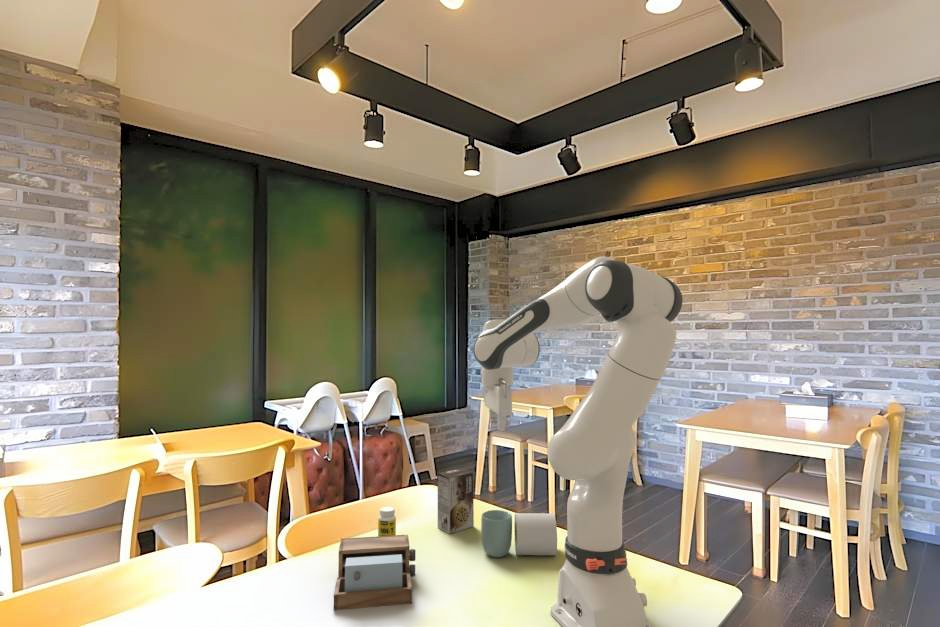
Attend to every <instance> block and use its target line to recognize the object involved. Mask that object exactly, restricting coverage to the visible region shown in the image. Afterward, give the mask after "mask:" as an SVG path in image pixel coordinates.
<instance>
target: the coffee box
mask: <svg viewBox="0 0 940 627" xmlns="http://www.w3.org/2000/svg"><path fill="white" fill-rule="evenodd" d="M474 513H475V512H474V472H473V471H471V470H468V469H465V468H462V467H459V468H454V469H450V470H445V471H442V472H437V529H439V530H441V531H443V532H446V533H447V534H449V535H452V534H456V533H457V532H460V531H464V530H466V529H470V528H473V527H474V525H475V522H474V521H475V520H474V519H475V518H474Z"/></svg>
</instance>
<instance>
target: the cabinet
mask: <svg viewBox="0 0 940 627" xmlns="http://www.w3.org/2000/svg"><path fill="white" fill-rule="evenodd" d="M400 554H402V588H391V589H378V590H365V591H353V592H345V564H346V558H355V557H370V556H385V555H400ZM415 561H416V549H414V548H411V549H410V540H409V534H396V535H394V536H378V535H377V536H365V537H364V536H363V537H352V538H351V537H348V538H341V539H340V543H339V547H338V576H337V577H336V582H335V588H334V592H333V610H347V609H357V608H359V609H360V608H369V607H371V608H372V607H381V606H394V605H406V604H407V605H409V604H412V600H413V598H412V597H413V596H412V595H413V594H412V592H413V588H412V577H415V576H416V564H412V563H411V564H410V562H415Z"/></svg>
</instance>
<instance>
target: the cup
mask: <svg viewBox="0 0 940 627" xmlns="http://www.w3.org/2000/svg"><path fill="white" fill-rule="evenodd" d="M480 520H481V521H480V522H481V526H480V529H481V542H482V543H481V545H482V549H483V550H484V553H485V554H486V555H488V556H489V557H491V558H492V557H493V558H501V557H502V558H503V557H505V556H506V555H508V554H509V552H510V550H511V547H512V541H513V515H512V514H511V513H510V512H508V511H506V510H501V509H490V510H486V511H484V512H483V513H482V514H481V519H480Z"/></svg>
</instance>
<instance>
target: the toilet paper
mask: <svg viewBox="0 0 940 627" xmlns="http://www.w3.org/2000/svg"><path fill="white" fill-rule="evenodd" d="M513 523H514V528H513V529H514V530H513V531H514V550H515V555H516V556H557V553H558V531H557V530H558V528H557V521H556V515H555V513H543V512H539V513H537V512H536V513H530V512H529V513H527V512H526V513H525V512H524V513H523V512H521V513H520V512H515V513H514V522H513Z"/></svg>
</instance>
